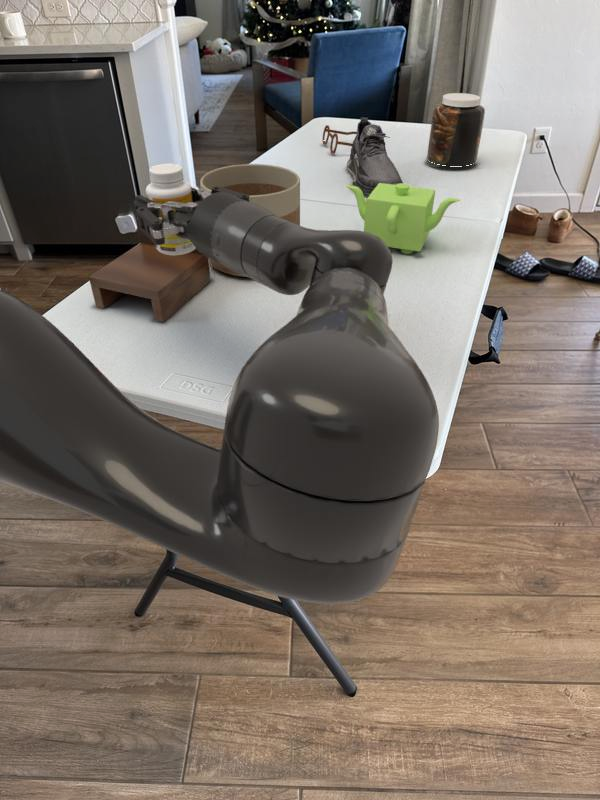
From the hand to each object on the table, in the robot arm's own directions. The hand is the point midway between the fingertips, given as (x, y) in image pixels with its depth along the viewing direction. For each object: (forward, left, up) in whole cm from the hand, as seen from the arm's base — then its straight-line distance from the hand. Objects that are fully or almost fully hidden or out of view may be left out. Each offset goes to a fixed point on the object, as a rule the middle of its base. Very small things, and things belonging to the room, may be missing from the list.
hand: (160, 197), depth 74 cm
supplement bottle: (-1, -2, -6) cm, 7 cm away
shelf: (+5, +7, -18) cm, 20 cm away
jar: (+90, -23, -18) cm, 95 cm away
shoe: (+69, -9, -18) cm, 72 cm away
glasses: (+93, +4, -18) cm, 95 cm away
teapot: (+38, -23, -18) cm, 48 cm away
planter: (+22, -2, -18) cm, 28 cm away
